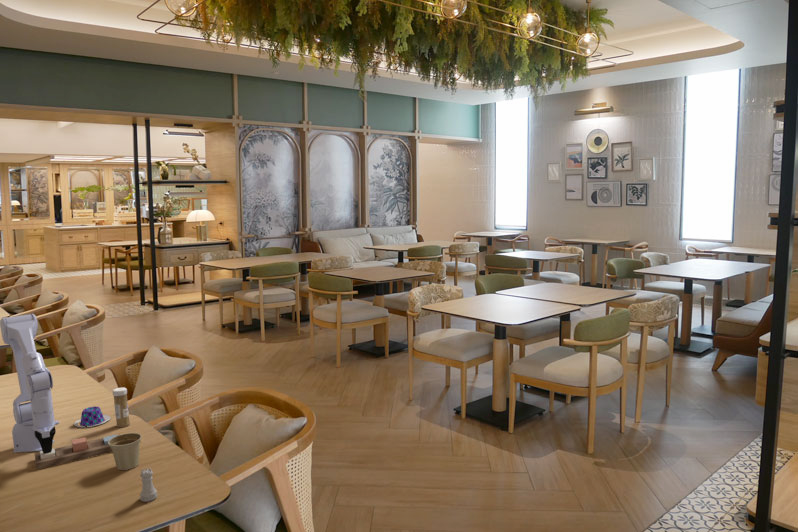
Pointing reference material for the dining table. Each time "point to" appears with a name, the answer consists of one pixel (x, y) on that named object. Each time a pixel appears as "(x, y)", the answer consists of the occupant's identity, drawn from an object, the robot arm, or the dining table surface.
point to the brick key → (79, 444)
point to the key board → (72, 454)
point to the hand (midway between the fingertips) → (47, 452)
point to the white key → (47, 454)
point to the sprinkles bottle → (121, 407)
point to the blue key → (107, 439)
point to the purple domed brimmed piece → (92, 417)
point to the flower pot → (126, 450)
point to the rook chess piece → (147, 486)
